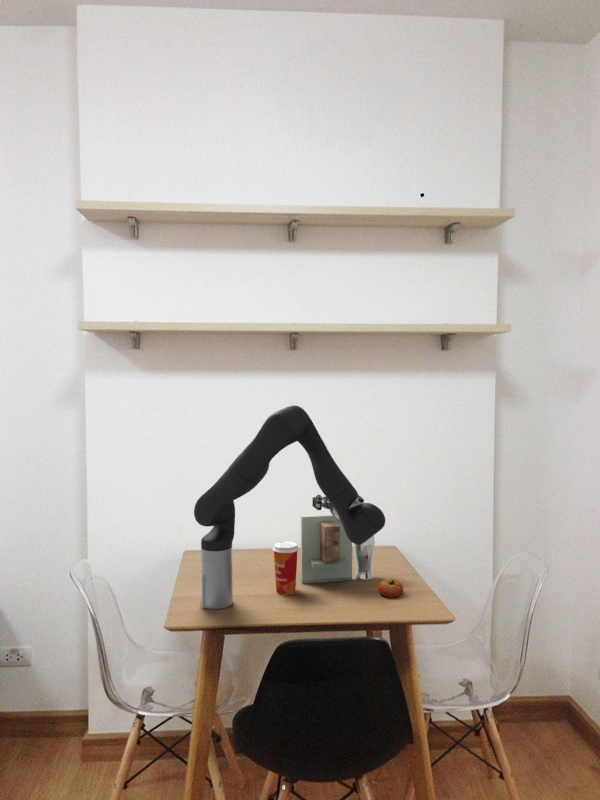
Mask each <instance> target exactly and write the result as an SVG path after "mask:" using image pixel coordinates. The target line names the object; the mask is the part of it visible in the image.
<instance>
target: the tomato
mask: <svg viewBox="0 0 600 800" xmlns="http://www.w3.org/2000/svg"><path fill="white" fill-rule="evenodd" d="M377 591H378V592H379V593H380V594H381V595H382V596H384V597H385V598H387V599H389V598H390V599H394V598H396V597H397V596H401V594H403V593H404V587H403V585H402V583H401V582H400V581H398V580H396V579H394V578H393V579H392V578H390V579H388V578H387V579H384V580H382V581H380V583H379V584H378V585H377Z"/></svg>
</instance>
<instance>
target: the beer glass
mask: <svg viewBox="0 0 600 800" xmlns="http://www.w3.org/2000/svg"><path fill="white" fill-rule="evenodd" d="M375 543H376V542H375V535H373V536H372V537H371V538H370V539H368V540H367V541H366V542H364V543H363V544H361V545H357V544H354V543H353V551H354V559H355V567H356V568H355V570H356V571H355V575H354V578H355V580H356V581H361V582H370V581H373V579H374V574H373V564H374V557H375V551H376V549H375V547H376V545H375Z"/></svg>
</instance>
